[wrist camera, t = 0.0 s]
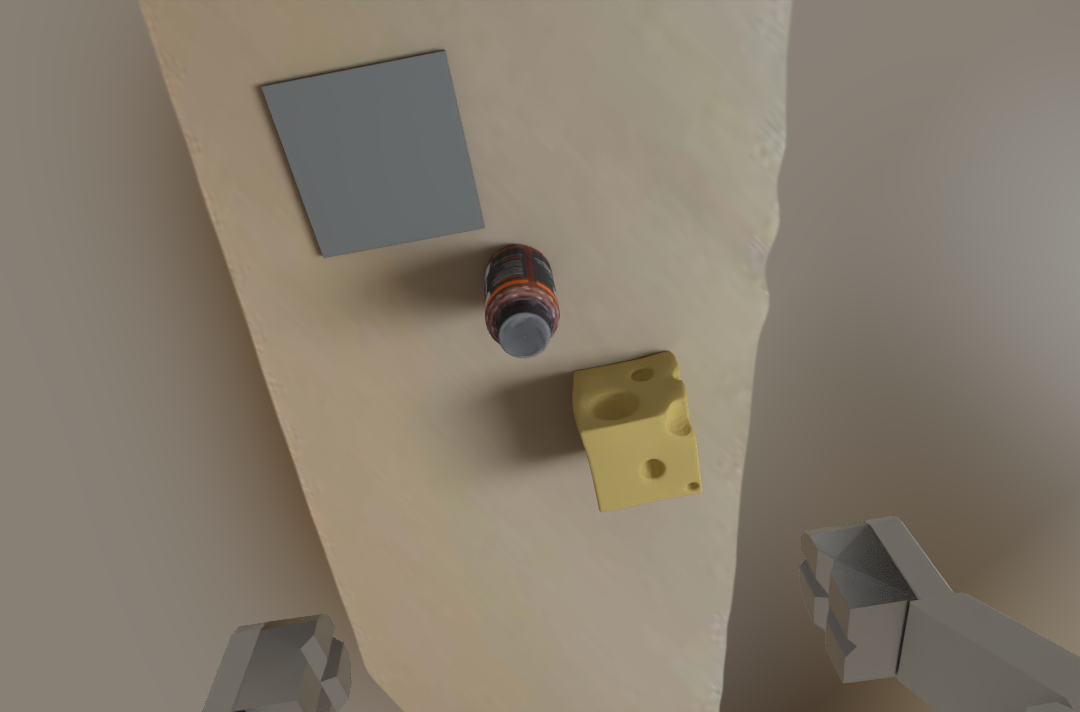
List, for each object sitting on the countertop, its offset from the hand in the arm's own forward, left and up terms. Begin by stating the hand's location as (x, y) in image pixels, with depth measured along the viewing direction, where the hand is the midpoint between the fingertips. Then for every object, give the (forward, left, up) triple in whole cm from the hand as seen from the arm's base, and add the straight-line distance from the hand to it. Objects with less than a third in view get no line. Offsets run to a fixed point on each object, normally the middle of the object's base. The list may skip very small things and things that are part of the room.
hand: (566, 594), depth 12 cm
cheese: (+31, +6, -48) cm, 58 cm away
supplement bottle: (+15, -2, -48) cm, 51 cm away
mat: (+3, -11, -48) cm, 49 cm away
